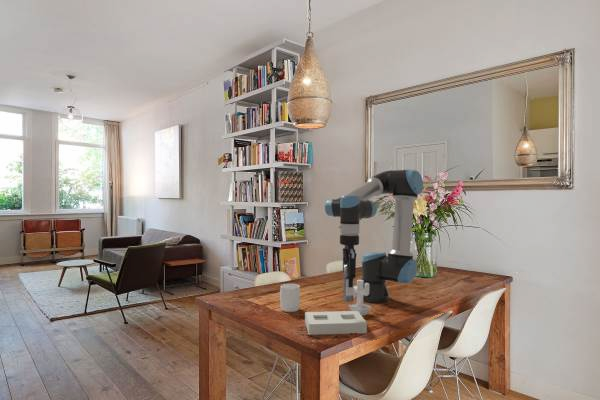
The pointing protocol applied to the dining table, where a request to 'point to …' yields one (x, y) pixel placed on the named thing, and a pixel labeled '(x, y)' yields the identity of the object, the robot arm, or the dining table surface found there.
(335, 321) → the bore block
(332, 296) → the dining table surface
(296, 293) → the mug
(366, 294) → the figurine
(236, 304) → the dining table surface
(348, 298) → the steel pin
